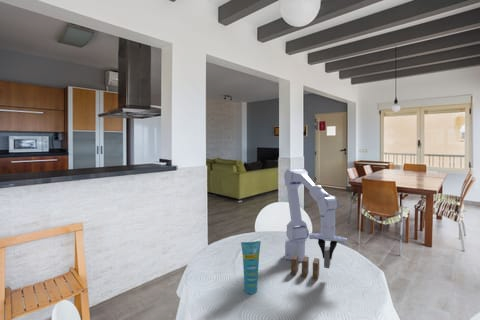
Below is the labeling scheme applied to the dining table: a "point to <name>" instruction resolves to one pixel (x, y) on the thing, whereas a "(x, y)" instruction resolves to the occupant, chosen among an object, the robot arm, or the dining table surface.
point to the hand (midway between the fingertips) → (327, 257)
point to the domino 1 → (294, 264)
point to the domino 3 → (315, 268)
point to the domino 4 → (327, 257)
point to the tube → (250, 265)
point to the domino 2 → (305, 266)
